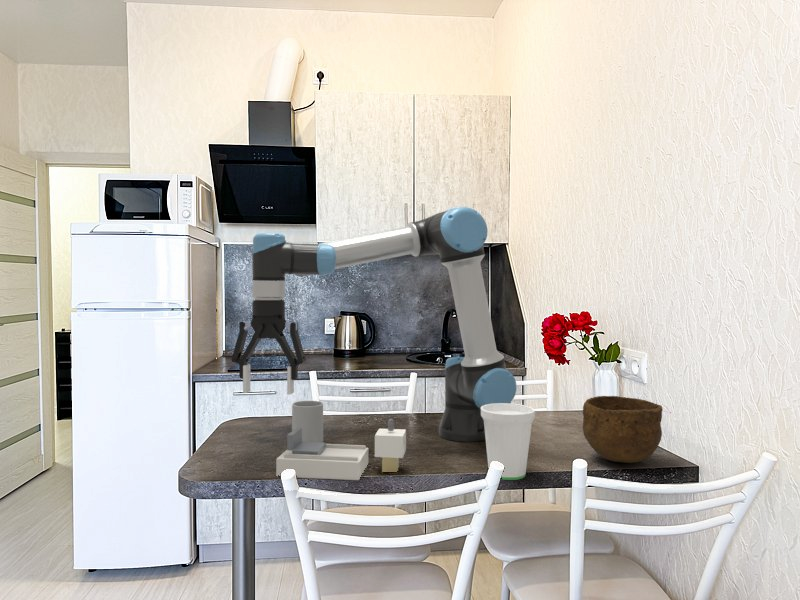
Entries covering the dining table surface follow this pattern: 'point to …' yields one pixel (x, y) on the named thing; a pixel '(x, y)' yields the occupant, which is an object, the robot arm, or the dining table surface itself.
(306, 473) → the cream railed base block
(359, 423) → the dining table surface
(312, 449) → the grey l-shaped bracket
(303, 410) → the mug
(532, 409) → the cup
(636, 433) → the bowl
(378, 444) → the plug
